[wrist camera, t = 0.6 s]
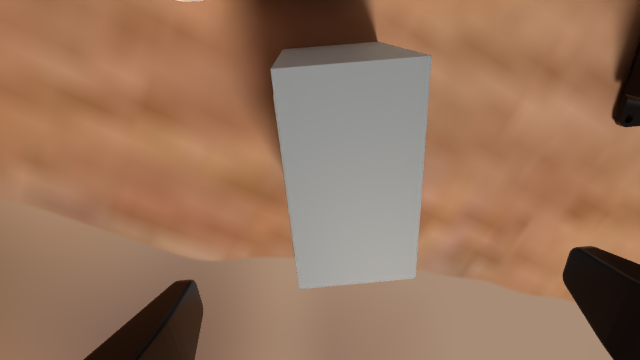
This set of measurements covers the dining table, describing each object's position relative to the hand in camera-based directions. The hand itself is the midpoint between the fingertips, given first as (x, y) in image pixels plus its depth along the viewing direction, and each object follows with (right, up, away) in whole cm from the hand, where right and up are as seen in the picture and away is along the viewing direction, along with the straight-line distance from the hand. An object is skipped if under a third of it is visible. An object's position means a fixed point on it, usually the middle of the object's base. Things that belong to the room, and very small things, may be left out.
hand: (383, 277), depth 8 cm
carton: (-1, +5, +11) cm, 13 cm away
